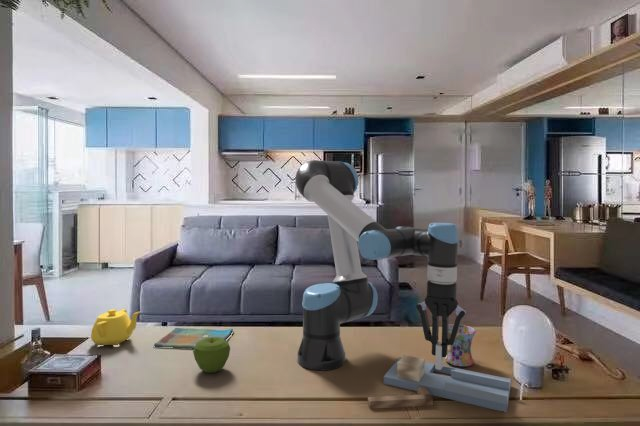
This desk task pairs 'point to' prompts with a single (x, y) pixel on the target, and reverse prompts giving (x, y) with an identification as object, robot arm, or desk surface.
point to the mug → (460, 346)
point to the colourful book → (190, 337)
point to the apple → (211, 354)
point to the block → (411, 368)
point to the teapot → (113, 327)
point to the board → (458, 386)
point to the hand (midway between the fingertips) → (439, 367)
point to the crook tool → (402, 400)
